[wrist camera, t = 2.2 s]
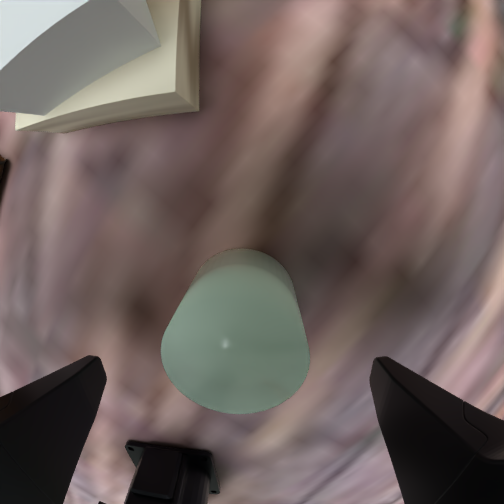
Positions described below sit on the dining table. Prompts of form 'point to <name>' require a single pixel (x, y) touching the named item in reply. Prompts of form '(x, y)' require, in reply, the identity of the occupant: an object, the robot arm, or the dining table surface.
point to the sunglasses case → (1, 165)
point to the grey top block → (66, 47)
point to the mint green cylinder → (237, 335)
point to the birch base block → (138, 79)
